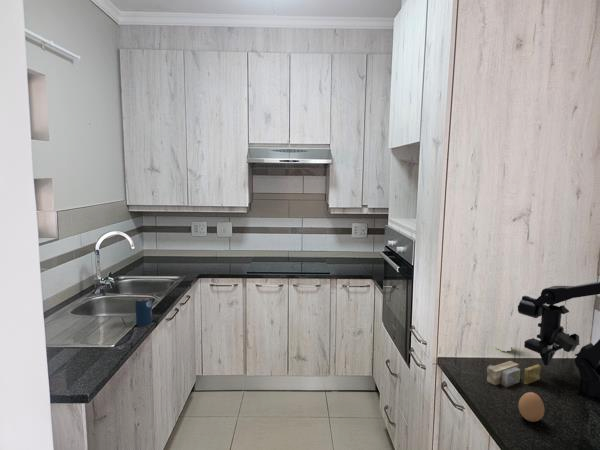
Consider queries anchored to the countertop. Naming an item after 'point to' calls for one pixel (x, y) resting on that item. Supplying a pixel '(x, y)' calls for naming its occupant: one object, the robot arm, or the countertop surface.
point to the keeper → (532, 374)
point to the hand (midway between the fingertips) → (546, 365)
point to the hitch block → (499, 372)
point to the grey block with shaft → (509, 376)
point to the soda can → (143, 311)
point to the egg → (531, 407)
